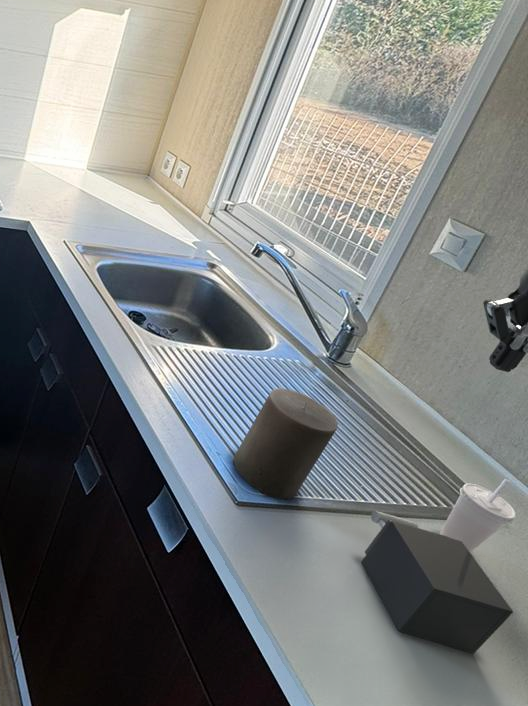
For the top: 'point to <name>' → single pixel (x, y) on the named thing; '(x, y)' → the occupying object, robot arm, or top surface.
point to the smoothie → (477, 515)
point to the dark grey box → (434, 588)
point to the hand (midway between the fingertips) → (498, 367)
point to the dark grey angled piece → (385, 521)
